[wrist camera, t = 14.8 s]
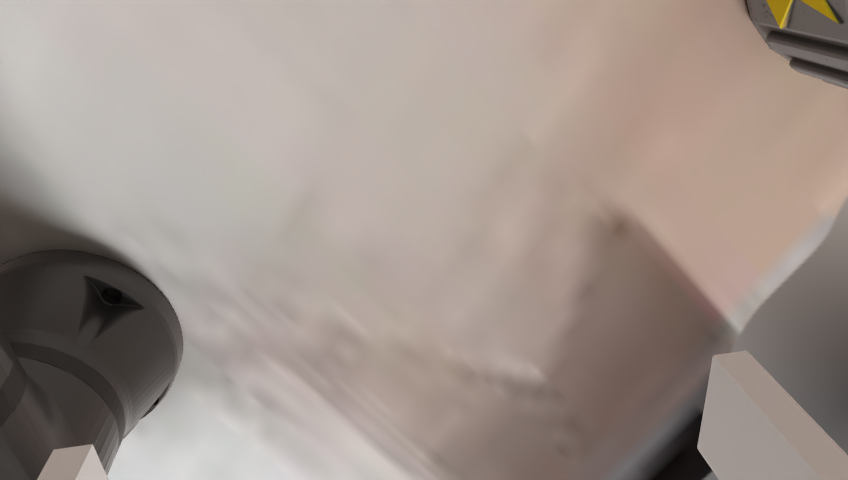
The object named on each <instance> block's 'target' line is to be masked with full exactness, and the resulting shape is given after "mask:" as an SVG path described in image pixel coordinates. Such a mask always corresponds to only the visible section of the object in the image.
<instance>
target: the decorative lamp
mask: <svg viewBox="0 0 848 480" xmlns="http://www.w3.org/2000/svg"><path fill="white" fill-rule="evenodd" d="M747 5H748V9H749V13H750V18H751V21H752V22H753V24H754V25H755V27H756V28H757V30H758V31H759V33H760V34H761V36H762V37H763V39H764V40H765V42H766V43H767V44H768V46H769V47H770V49H772V50H773V51H775V52H776V53H778V54H780V55H781V56H783V57H784V58H786V59H788V60H789V61H790V64H789V65H790V66H791V67H792V68H793V69H794V70H796V71H798V72H800V73H803V74H806V75H809V76H812V77H815V78H818V79H822V80H823V81H825V82H827V83H830V84H834V85H837V86H840V87H843V88H846V89H848V0H747Z"/></svg>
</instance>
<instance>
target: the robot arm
mask: <svg viewBox="0 0 848 480" xmlns="http://www.w3.org/2000/svg"><path fill="white" fill-rule="evenodd" d="M182 353H183V336H182V331H181V327H180V324H179V321H178V318H177V316H176V314H175V312H174V310H173V309H172V307H171V305H170V304H169V302H168V301H167V300H166V298H165V297H164V296H163V295H162V294H161V293H160V291H159V290H158V289H157V288H156V287H154V286H153V285H152V284H151V283H150V282H149V281H148V280H146V279H145V278H144V277H142V276H141V275H139V274H138V273H136V272H135V271H133V270H131V269H129V268H128V267H126V266H124V265H122V264H119V263H117V262H115V261H112V260H110V259H107V258H104V257H100V256H97V255H93V254H88V253H83V252H76V251H61V250H60V251H43V252H37V253H32V254H28V255H24V256H21V257H18V258H16V259H13V260H11V261H9V262H7V263H5V264H3V265H1V266H0V480H108V478H107V475H108V472H109V470H110V467H111V465H112V462H113V460H114V458H115V455H116V453H117V451H118V449H119V446H120V444H121V442H122V439H123V438H125V437H126V436H127V435H128V434H129V433H130V431H131V430H132V429H133V428H134V427H135V426H136V424H137V423H138V421H139V420H140V419H142V418H143V417H145V416H146V415H147V414H149V413H150V412H151V411H152V410H153V409H154V408H155V407H156V406H157V405H158V404H159V403H160V402H161V401H162V400H163V398H164V397H165V395H166V394H167V392H168V391H169V389H170V387H171V385H172V383H173V381H174V378H175V376H176V373H177V370H178V368H179V365H180V362H181V358H182ZM697 449H698V450H699V452H700V453H701V454H702V456H703V457H704V459H705V460H706V462H707V463H708V465H709V466H710V468H711V469H712V470H713V472H714V473H715V475H716V476H717V478H718V479H719V480H848V455H847V454H846V453H845V452H844V451H843V450H842V449H841V448H840V447H839V446H838V445H837V444H836V443H835V442H834V441H833V440H832V439H831V438H830V437H829V436H828V434H827V433H826V432H825V431H823V429H822V428H821V427H820V426H819V425H818V424H817V423H816V422H815V421H814V420H813V419H812V418H811V417H810V416H809V415H808V414H807V413H806V412H805V411H804V410H803V409H802V408H801V406H800V405H798V403H797V402H796V401H795V400H794V399H793V398H792V397H791V396H790V395H789V394H788V393H787V392H786V391H785V390H784V389H783V388H782V387H781V386H780V385H779V384H778V383H777V382H776V381H775V380H774V379H773V377H772V376H771V375H770V374H769V373H768V372H766V370H765V369H764V368H763V367H762V366H761V365H760V364H759V363H758V362H757V361H756V360H755V359H754V358H753V357H752V356H751V355H750V354H749V353H748V352H747V351H741V352H734V353H727V354H720V355H713V359H712V365H711V371H710V376H709V382H708V388H707V394H706V400H705V406H704V412H703V417H702V423H701V429H700V435H699V441H698V447H697Z"/></svg>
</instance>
